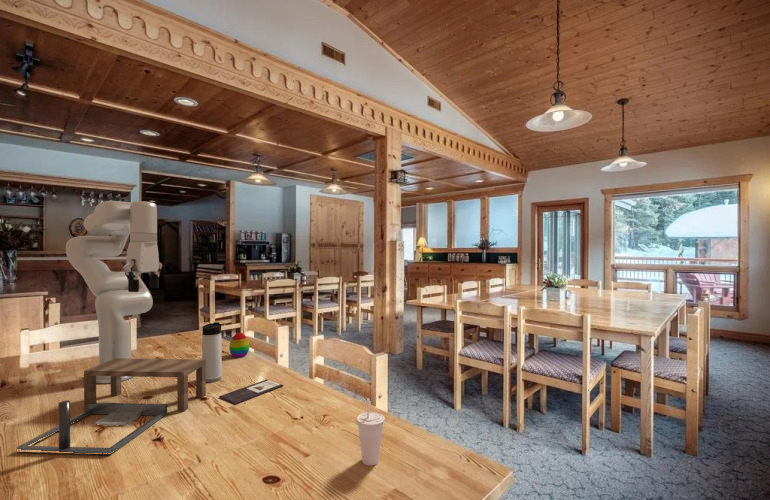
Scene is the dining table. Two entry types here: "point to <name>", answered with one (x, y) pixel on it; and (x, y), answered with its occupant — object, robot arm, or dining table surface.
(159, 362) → the small wooden bench
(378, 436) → the smoothie
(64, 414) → the grey metal frame
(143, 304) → the robot arm
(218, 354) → the travel mug
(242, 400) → the chocolate bar
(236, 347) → the decorative egg
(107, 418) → the pale grey flat block
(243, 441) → the dining table surface
